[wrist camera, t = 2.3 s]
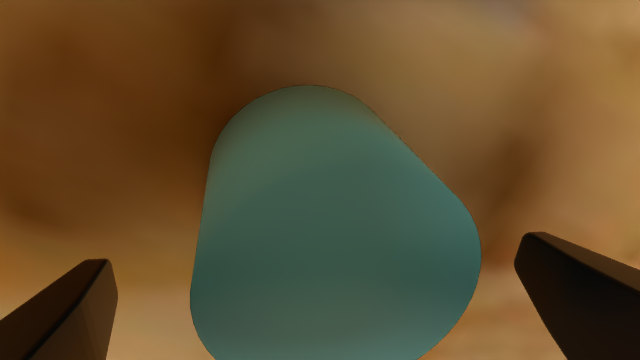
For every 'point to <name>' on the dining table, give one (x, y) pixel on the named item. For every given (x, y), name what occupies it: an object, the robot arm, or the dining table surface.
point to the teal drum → (326, 237)
